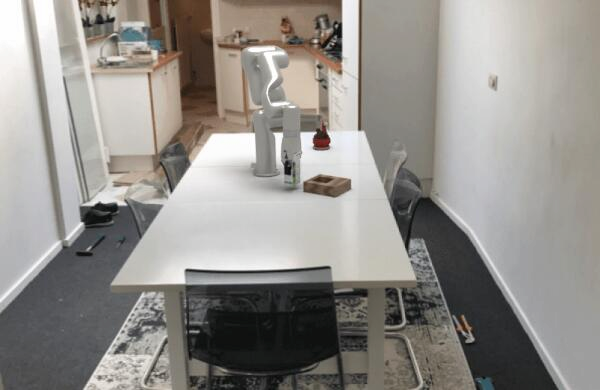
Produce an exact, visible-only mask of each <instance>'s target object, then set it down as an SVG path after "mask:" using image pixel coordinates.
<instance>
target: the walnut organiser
mask: <svg viewBox="0 0 600 390" xmlns="http://www.w3.org/2000/svg"><path fill="white" fill-rule="evenodd" d="M302 184H303V185H302V187H303V188H302V190H303V192H304V193H310V194H314V195H320V196H326V197H331V198H336V197H338V196H340V195H342V194H344V193H346V192H348V191H350V190H351V189H352V179H351V178H346V177H342V176H341V177H340V176H334V175H327V174H323V173H322V174H321V173H319V174H317V175H315V176H312V177H311V178H308V179H306V180H304V181H302Z"/></svg>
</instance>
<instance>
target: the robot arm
mask: <svg viewBox="0 0 600 390" xmlns="http://www.w3.org/2000/svg"><path fill="white" fill-rule="evenodd" d="M240 63H241V67H242V69H243V72H244V73H245V75H246V78H247V81H248V87H249V92H250V97H251V100H252V103H253V105H255V106H258V107H259V106H261V107H259V108H257V109H255V110H254V111H253V112H252V115H251V117H252V124H253V130H254V140H255V141H254V142H255V162H251V164H250V168H253V169H254V170H253V171H252V174H253V176H256V177H262V178H263V177H264V178H265V177H266V178H267V177H274V176H278V175H279V174H280V169H278V168H277V151H276V150H277V147H276V145H277V144H276V136H275V134H274V132H273V131H272V130H271V129H273V128H278V127H282V138H281V145H280V162H281V163H282V164H283V165H282V166H283V175H284V174H285V175H291V166H290V164H291V160H292V159H293V154H295V153H297V152H300V159H301V158H302V155H303V151H302V139H301V106H300V105H299V104H297V103H296V102H294V101H293V100H287V98H286V91H285V90H284V88H283V86H282V84H283V82H284V76H283V74H282V72H281V69H288V67H289V66H290V65H289V64H290V57H289V54H288V53H287V51H286V50H285V49H283V48H282V47H279V46H277V45H270V44H269V45H253V46H248V47H244V48H243V49H242V50H241V53H240ZM286 158H288V159H286ZM287 161H288V163H287Z"/></svg>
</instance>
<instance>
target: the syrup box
mask: <svg viewBox="0 0 600 390" xmlns="http://www.w3.org/2000/svg"><path fill="white" fill-rule="evenodd" d="M286 159H288V158H286ZM287 163H288V161H287ZM290 166H291V175H285V174H284V173H283V185H286V186H292V187H295V186H297V185H299V184H301V158H300V152H297V153H295V154H293V159H292V160H291V164H290Z"/></svg>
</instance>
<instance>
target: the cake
mask: <svg viewBox="0 0 600 390" xmlns="http://www.w3.org/2000/svg"><path fill="white" fill-rule="evenodd" d="M319 119H320V127H317V128H315V132H316V133H314V135H313V137H312V144H313V145H312V148H313V149H314V150H319V151H323V150H324V151H325V150H328V149H330V148H331V145H330V144H331V143H332V142H331V137H330V135H329V133H328V131H327V130H328V129H327V126H328V125H329V122H328V121H324V122H323V116H322V115H321V116H320V118H319Z"/></svg>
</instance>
